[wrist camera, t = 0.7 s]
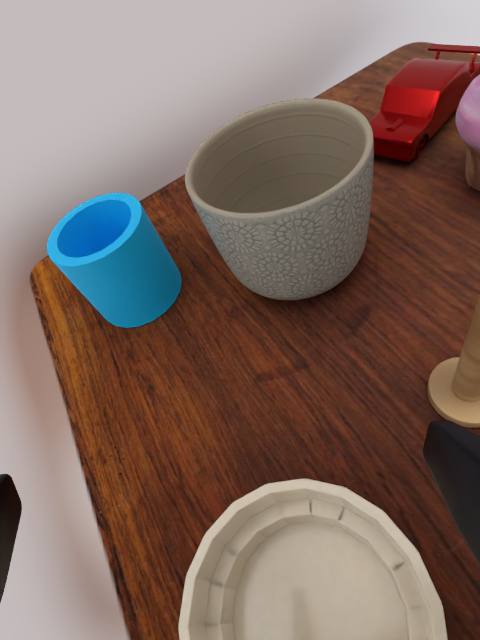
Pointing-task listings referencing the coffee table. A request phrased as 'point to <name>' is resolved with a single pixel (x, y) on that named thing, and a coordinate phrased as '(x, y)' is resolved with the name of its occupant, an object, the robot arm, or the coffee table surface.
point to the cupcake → (471, 131)
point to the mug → (116, 259)
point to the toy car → (421, 102)
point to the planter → (287, 195)
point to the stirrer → (459, 381)
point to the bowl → (308, 572)
